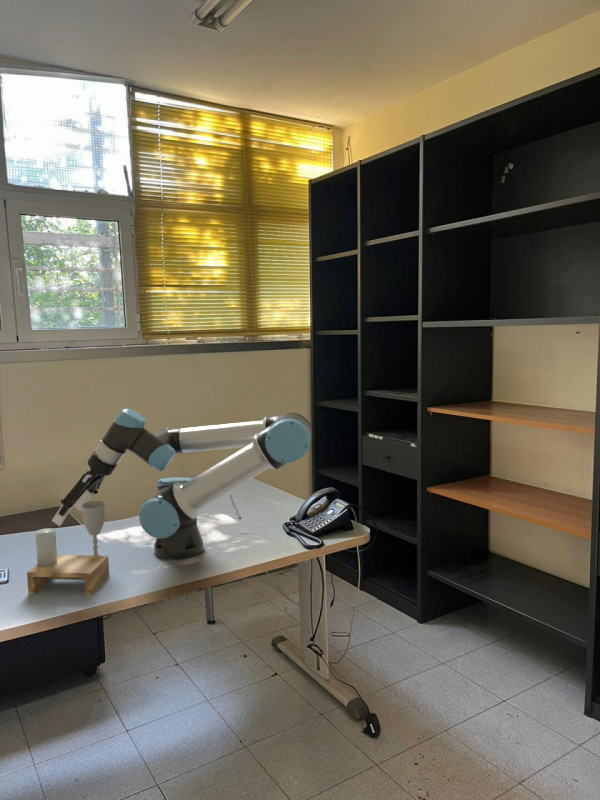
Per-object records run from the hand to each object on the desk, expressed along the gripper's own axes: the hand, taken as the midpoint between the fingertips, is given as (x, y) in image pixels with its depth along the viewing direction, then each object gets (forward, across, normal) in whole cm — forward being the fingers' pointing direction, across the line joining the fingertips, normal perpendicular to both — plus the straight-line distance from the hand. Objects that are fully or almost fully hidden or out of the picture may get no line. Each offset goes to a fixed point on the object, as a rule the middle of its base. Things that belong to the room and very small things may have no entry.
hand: (67, 515), depth 172 cm
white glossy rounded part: (+8, +13, +5) cm, 16 cm away
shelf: (+9, +12, +14) cm, 21 cm away
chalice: (+9, -2, +15) cm, 17 cm away
